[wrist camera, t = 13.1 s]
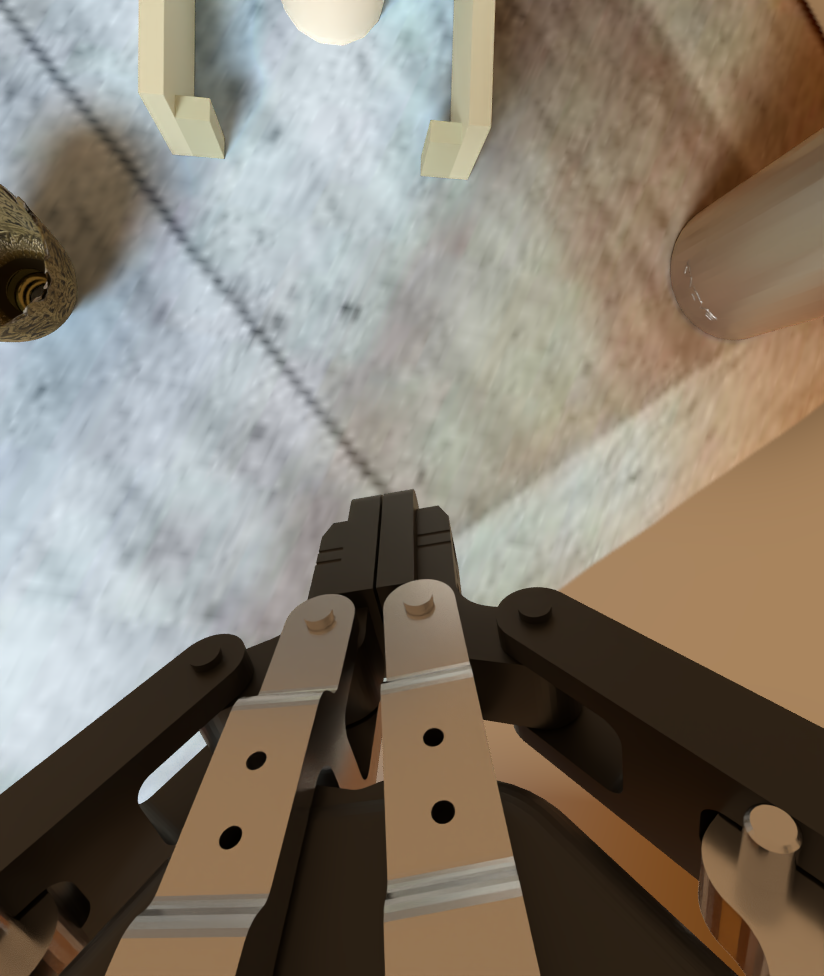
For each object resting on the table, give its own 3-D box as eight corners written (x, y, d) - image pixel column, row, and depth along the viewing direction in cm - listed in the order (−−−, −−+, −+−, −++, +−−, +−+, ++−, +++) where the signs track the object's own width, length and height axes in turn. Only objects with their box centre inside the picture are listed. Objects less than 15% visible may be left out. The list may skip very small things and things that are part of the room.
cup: (5, 214, 34) (-97, 141, 26) (129, 266, 35) (68, 210, 27) (-41, 333, 34) (-156, 296, 26) (84, 381, 35) (10, 359, 27)
